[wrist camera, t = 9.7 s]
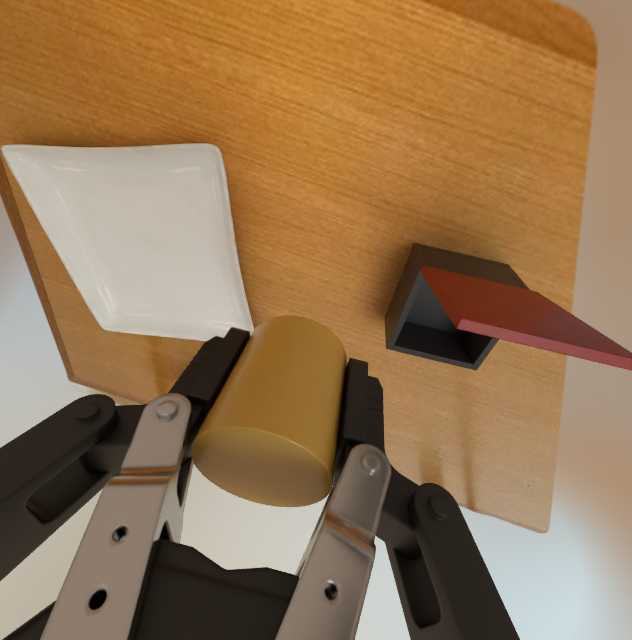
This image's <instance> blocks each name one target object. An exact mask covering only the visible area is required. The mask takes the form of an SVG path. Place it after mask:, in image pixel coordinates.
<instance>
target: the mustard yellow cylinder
mask: <svg viewBox="0 0 632 640" xmlns="http://www.w3.org/2000/svg"><path fill="white" fill-rule="evenodd" d="M346 364H347V357H346V352H345V349H344V347H343V345H342V343H341V341H340V340H339V339H338V337H337V336H336V335H335V334H334V333H333V332H332V331H331V330H329V329H328V328H327V327H325V326H324V325H322V324H320V323H318V322H316V321H314V320H311V319H308V318H304V317H299V316H279V317H275V318H272V319H269V320H267V321H265V322H263V323H262V324H260V325H259V326H258V327H257V328H256V329H255V330H254V331H253V333H252V335H251V336H250V338H249V340H248V342H247V344H246V346H245V347H244V349H243V351H242V353H241V355H240V356H239V358H238V360H237V362H236V364H235V366H234V367H233V369H232V371H231V373H230V375H229V377H228V378H227V380H226V382H225V384H224V386H223V387H222V389H221V391H220V393H219V395H218V397H217V398H216V400H215V402H214V404H213V406H212V408H211V409H210V411H209V413H208V415H207V417H206V419H205V420H204V422H203V424H202V426H201V428H200V429H199V431H198V433H197V435H196V437H195V439H194V440H193V443H192V445H191V457H192V460H193V462H194V464H195V466H196V467H197V468H198V470H199V471H200V472H201V473H202V474H203V475H204V476H205V477H206V478H207V479H208V480H210V481H211V482H212V483H214V484H215V485H217V486H218V487H220V488H222V489H223V490H225V491H227V492H229V493H231V494H233V495H236V496H238V497H241V498H243V499H246V500H249V501H253V502H256V503H260V504H265V505H271V506H279V507H300V506H307V505H311V504H314V503H317V502H319V501H321V500H322V499H324V498H325V497H326V496H327V495H328V494H329V493H330V491H331V489H332V486H333V479H334V470H335V461H336V453H337V444H338V435H339V426H340V417H341V408H342V399H343V391H344V382H345V373H346Z"/></svg>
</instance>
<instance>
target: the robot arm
mask: <svg viewBox="0 0 632 640" xmlns="http://www.w3.org/2000/svg"><path fill="white" fill-rule="evenodd" d="M249 338H250V331H246V330H242V329H239V328H235V327H231V328H230V329H229V331H228V332H227V334H226V335H225V337H224V338H223V337H219V336H215V337H213V338H211V339H210V340H208V341H207V342H205V343H204V344H203V346H202V347H201V349H200V350H199V351H198V354H196V355H195V357H194V358H193V360H192V362H190V364H189V365H188V366H187V368H186V369H185V371H184V372H183V373H182V375H181V376H180V377H179V379H178V380H177V382H176V383H175V384H174V386H173V387H172V388H171V390H170V391H169V392H168V393H167V394H164V395H160V396H158V397H156V398H154V399H153V400H151V401H150V402H149V403H148V404H144V405H124V406H116V405H115V402H114V401H113V399H112V398H110V397H109V396H106V395H101V394H94V395H88V396H85V397H81V398H79V399H77V400H75V401H73V402H72V403H70V404H69V405H67V406H66V407H64V408H63V409H61V410H59V411H58V412H56V413H54V414H53V415H51V416H50V417H48V418H47V419H45V420H43V421H42V422H40V423H39V424H37V425H36V426H34V427H32V428H31V429H29V430H28V431H26V432H25V433H23V434H21V435H20V436H18V437H17V438H15V439H14V440H12V441H11V442H9V443H7V444H6V445H4V446H3V447H1V448H0V581H1V580H2V579H3V578H4V577H5V576H7V575H8V574H9V573H10V572H11V571H12V570H13V569H14V568H15V567H16V566H17V565H19V564H20V563H21V562H22V561H23V560H24V559H25V558H26V557H27V556H29V555H30V554H31V553H32V552H33V551H34V550H35V549H36V548H37V547H39V545H41V544H42V543H43V542H44V541H45V540H46V539H47V538H48V537H49V536H51V535H52V534H53V533H54V532H55V531H56V530H57V529H58V528H59V527H60V526H62V525H63V524H64V523H65V522H66V521H67V520H68V519H69V518H70V517H71V516H73V515H74V514H75V513H76V512H77V511H78V510H79V509H80V508H81V507H83V506H84V505H85V504H86V503H87V502H88V501H89V500H90V499H91V498H92V497H93V496H95V495H96V494H97V493H98V492H99V491H100V490H101V489H102V488H103V487H104V488H103V490H102V493H101V495H100V497H99V500H98V502H97V504H96V507H95V509H94V511H93V514H92V516H91V519H90V521H89V524H88V526H87V528H86V531H85V533H84V536H83V538H82V540H81V543H80V545H79V547H78V550H77V552H76V555H75V557H74V560H73V562H72V564H71V567H70V569H69V572H68V574H67V576H66V579H65V581H64V584H63V586H62V588H61V590H60V593H59V595H58V598H57V600H56V601H54V602H53V603H52V604H50V605H49V606H48V607H46V608H45V609H44V610H42V611H41V612H39V613H38V614H37V615H35V616H34V617H32V618H31V619H30V620H28V621H27V622H26V623H24V624H23V625H22V626H20V627H19V628H17V629H16V630H15V631H13V632H12V633H11V634H9V635H8V636H7V637H5V638H4V639H3V640H355V636H356V632H357V627H358V624H359V620H360V615H361V611H362V607H363V603H364V599H365V595H366V591H367V587H368V583H369V579H370V575H371V571H372V567H373V563H374V558H375V551H376V546H375V544H374V538H375V535H376V536H377V537H378V538H380V539H381V540H383V541H384V542H385V544H386V547H387V551H388V555H389V559H390V563H391V567H392V570H393V574H394V578H395V582H396V586H397V590H398V593H399V597H400V600H401V604H402V608H403V612H404V616H405V619H406V623H407V627H408V631H409V635H410V638H411V640H520V639H519V636H518V634H517V632H516V630H515V628H514V625H513V623H512V621H511V619H510V617H509V615H508V612H507V610H506V609H505V606H504V604H503V602H502V599H501V597H500V595H499V593H498V591H497V589H496V587H495V584H494V582H493V580H492V578H491V576H490V573H489V571H488V569H487V567H486V565H485V563H484V561H483V558H482V556H481V554H480V552H479V550H478V547H477V545H476V543H475V541H474V539H473V536H472V534H471V532H470V530H469V528H468V526H467V523H466V521H465V519H464V517H463V515H462V513H461V510H460V508H459V506H458V504H457V502H456V501H455V499H454V498H453V496H452V495H451V494H450V493H449V492H448V491H447V490H445V489H444V488H443V487H441V486H439V485H437V484H434V483H424V484H422V485H421V486H419V485H417V484H415V483H414V482H412V481H411V480H409V479H407V478H406V477H404V476H403V475H401V474H400V473H398V472H397V471H396V470H395V469H394V468H393V467H392V465H391V464H390V462H389V460H388V458H387V457H386V454H385V449H384V415H383V389H382V387H381V384H380V382H379V380H378V378H375V377H371V376H368V362H365V361H361V360H357V359H353V358H350V359H349V361H348V364H347V366H346V373H345V382H344V391H343V399H342V408H341V417H340V426H339V435H338V444H337V453H336V461H335V470H334V482H333V487H332V489H331V491H330V493H329V496H328V498H327V501H326V503H325V505H324V508H323V510H322V513H321V515H320V517H319V520H318V522H317V525H316V527H315V530H314V532H313V534H312V536H311V539H310V541H309V544H308V546H307V548H306V550H305V553H304V555H303V557H302V559H301V561H300V564H299V566H298V568H297V571H296V573H295V575H293V574H289V573H286V572H282V571H278V570H274V569H271V568H267V567H265V568H251V569H235V570H226V569H224V568H222V567H220V566H219V565H217V564H216V563H215V562H213V561H212V560H210V559H209V558H207V557H206V556H205V555H203V554H202V553H200V552H199V551H197V550H196V549H195V548H193V547H190V546H186V545H183V544H180V539H181V533H182V525H183V512H184V506H185V501H186V496H187V492H188V487H189V482H190V477H191V472H192V467H193V463H194V462H193V460H192V457H191V445H192V443H193V440H194V439H195V437H196V435H197V433H198V431H199V429H200V428H201V426H202V424H203V422H204V420H205V419H206V417H207V415H208V413H209V411H210V409H211V408H212V406H213V404H214V402H215V400H216V398H217V397H218V395H219V393H220V391H221V389H222V387H223V386H224V384H225V382H226V380H227V378H228V377H229V375H230V373H231V371H232V369H233V367H234V366H235V364H236V362H237V360H238V358H239V356H240V355H241V353H242V351H243V349H244V347H245V346H246V344H247V342H248V340H249Z"/></svg>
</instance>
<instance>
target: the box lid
mask: <svg viewBox="0 0 632 640" xmlns="http://www.w3.org/2000/svg"><path fill="white" fill-rule="evenodd" d="M421 274H422V276H423V277H424V279H425V280H426V282H427V283H428V285H429V286H430V288H431V290H432V291H433V293H434V294H435V296H436V297H437V299H438V300H439V302H440V304H441V305H442V307H443V308H444V310H445V311H446V313H447V314H448V316H449V318H450V319H451V321H452V322H453V324H454V325H455V327H456V328H457V329H460V330H464V331H469V332H473V333H477V334H481V335H485V336H490V337H494V338H498V339H502V340H506V341H511V342H515V343H519V344H523V345H527V346H531V347H536V348H540V349H544V350H548V351H552V352H557V353H561V354H565V355H569V356H573V357H578V358H582V359H586V360H590V361H595V362H599V363H603V364H607V365H611V366H616V367H620V368H624V369H628V370H632V353H631V352H630V351H628V350H626V349H625V348H623V347H622V346H620V345H619V344H617V343H615V342H614V341H612V340H611V339H609V338H608V337H606V336H605V335H603V334H601V333H600V332H598V331H597V330H595V329H594V328H592V327H591V326H589V325H588V324H586V323H585V322H583V321H581V320H580V319H578V318H577V317H575V316H574V315H572V314H571V313H569V312H567V311H566V310H564V309H563V308H561V307H560V306H558V305H557V304H555V303H553V302H552V301H550V300H549V299H547V298H546V297H544V296H543V295H541V294H540V293H538V292H536V291H531V290H527V289H523V288H519V287H514V286H510V285H506V284H501V283H497V282H493V281H488V280H484V279H480V278H476V277H471V276H467V275H463V274H458V273H454V272H450V271H446V270H441V269H437V268H433V267H428V266H424V265H423V267H422V270H421Z"/></svg>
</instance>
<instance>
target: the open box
mask: <svg viewBox="0 0 632 640" xmlns="http://www.w3.org/2000/svg"><path fill="white" fill-rule="evenodd" d="M423 265H424V266H428V267H433V268H437V269H441V270H446V271H450V272H454V273H458V274H463V275H467V276H471V277H476V278H480V279H484V280H488V281H493V282H497V283H501V284H506V285H510V286H514V287H519V288H523V289H527V290H530V289H529V288H528V287H527V286H526V285H525V284H524V282H523V281H522V280H521V279H520V278H519V276H518V275H517V274H516V273H515V272H514V270H513V269H512V268H511V267H510V266H509V265H507V264H503V263H499V262H494V261H490V260H486V259H481V258H477V257H473V256H468V255H464V254H460V253H455V252H451V251H447V250H442V249H438V248H434V247H429V246H425V245H421V244H417V243H414V245H413V248H412V250H411V253H410V255H409V258H408V260H407V263H406V265H405V268H404V271H403V273H402V276H401V278H400V281H399V283H398V286H397V288H396V291H395V293H394V296H393V299H392V301H391V304H390V306H389V309H388V311H387V314H386V316H385V335H386V349H390V350H394V351H398V352H402V353H406V354H410V355H415V356H419V357H423V358H427V359H431V360H435V361H439V362H443V363H448V364H452V365H456V366H460V367H464V368H468V369H473V370H477V369H478V368H479V366H480V365H481V363H482V362H483V361H484V359H485V358H486V357H487V355H488V354H489V352H490V351H491V350H492V348H493V347H494V346H495V344H496V343H497V341H498V340H499V339H498V338H494V337H490V336H485V335H481V334H477V333H473V332H469V331H464V330H460V329H457V328H456V327H455V325H454V324H453V322H452V321H451V319H450V318H449V316H448V314H447V313H446V311H445V310H444V308H443V307H442V305H441V304H440V302H439V300H438V299H437V297H436V296H435V294H434V293H433V291H432V290H431V288H430V286H429V285H428V283H427V282H426V280H425V279H424V277H423V276H422V274H421V270H422V267H423Z"/></svg>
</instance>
